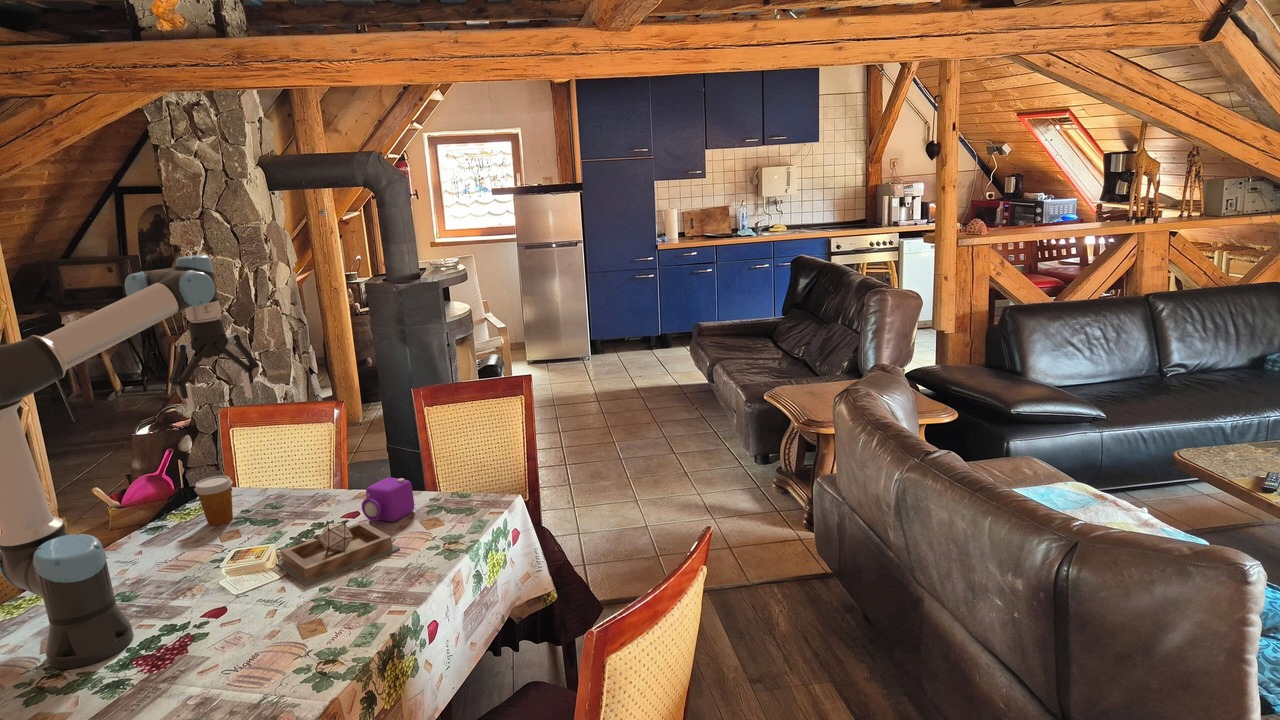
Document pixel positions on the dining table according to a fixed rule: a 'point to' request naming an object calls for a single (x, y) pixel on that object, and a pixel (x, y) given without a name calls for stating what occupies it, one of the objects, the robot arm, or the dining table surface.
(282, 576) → the dining table surface
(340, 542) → the game die
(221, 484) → the disposable coffee cup
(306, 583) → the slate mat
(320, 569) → the brown wooden tray
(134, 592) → the dining table surface
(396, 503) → the toy camera
